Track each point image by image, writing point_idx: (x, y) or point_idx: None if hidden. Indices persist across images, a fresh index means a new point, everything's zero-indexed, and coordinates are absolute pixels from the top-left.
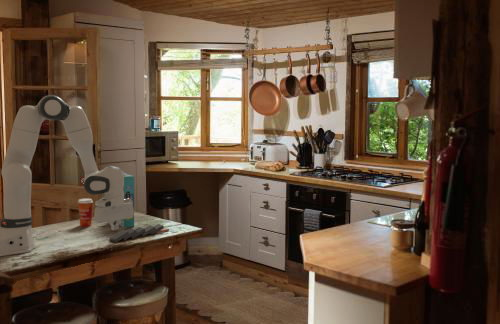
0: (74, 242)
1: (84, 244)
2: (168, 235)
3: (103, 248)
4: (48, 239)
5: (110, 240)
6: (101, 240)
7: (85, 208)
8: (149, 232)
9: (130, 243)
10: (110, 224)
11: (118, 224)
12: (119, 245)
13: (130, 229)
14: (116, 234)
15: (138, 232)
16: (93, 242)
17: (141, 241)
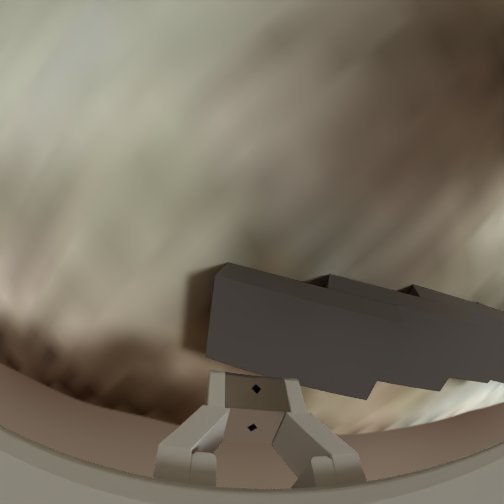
0: (15, 49)
1: (11, 167)
2: (481, 405)
3: (55, 362)
4: None
5: (225, 268)
6: (189, 171)
7: None
8: None
9: None
10: (178, 436)
11: (290, 459)
12: (173, 399)
13: (455, 340)
14: (297, 317)
15: None
16: (88, 170)
17: (338, 423)
